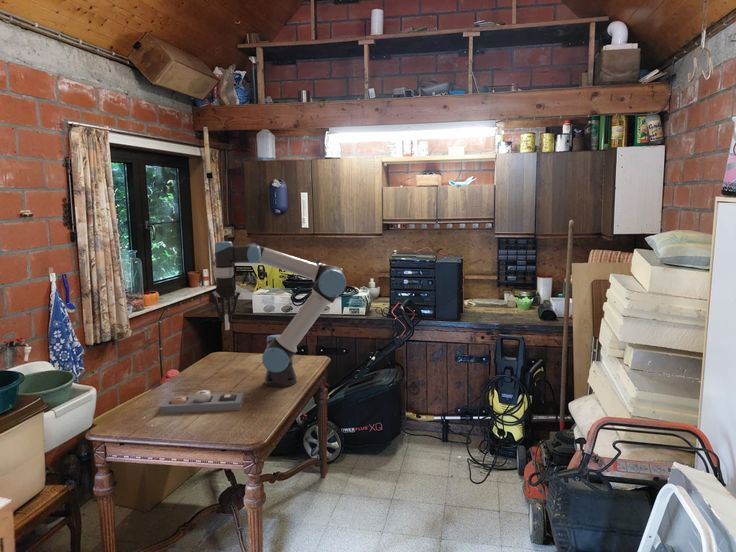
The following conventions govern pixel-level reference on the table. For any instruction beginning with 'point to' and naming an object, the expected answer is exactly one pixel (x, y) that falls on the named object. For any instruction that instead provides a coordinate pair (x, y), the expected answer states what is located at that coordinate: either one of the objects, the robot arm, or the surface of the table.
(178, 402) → the button terracotta
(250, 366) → the table surface
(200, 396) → the button white
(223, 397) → the button black
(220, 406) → the panel
